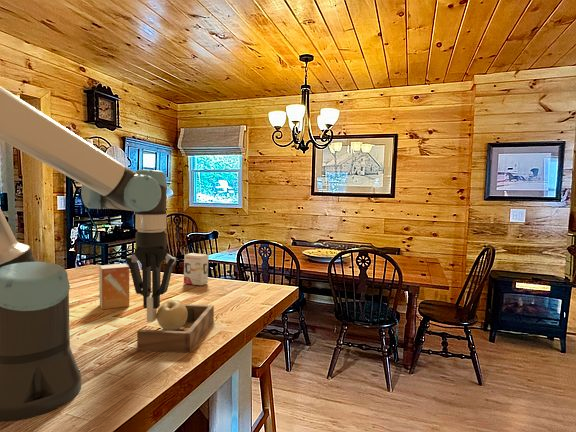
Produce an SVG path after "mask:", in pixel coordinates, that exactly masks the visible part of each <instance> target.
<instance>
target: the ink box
mask: <svg viewBox="0 0 576 432" xmlns="http://www.w3.org/2000/svg"><path fill="white" fill-rule="evenodd" d="M183 257H184V260H183V262H184V263H183V284H189V285H194V286H196V285H197V286H203V285H206V284H208V283H209V281H208V280H209V278H208V277H209V254H206V253H205V254H204V253H198V252H197V253H196V252H190V253H186V254H184V256H183Z"/></svg>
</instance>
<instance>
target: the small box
mask: <svg viewBox="0 0 576 432" xmlns="http://www.w3.org/2000/svg"><path fill="white" fill-rule="evenodd" d="M98 271H99V273H98V276H99V281H98V282H99V292H98V293H99V306H100V308H101V310H108V309H109V310H110V309H117V308H123V307H124V308H125V307H130V267H129V265H128V264H127V262H125V263H113V264H104V265H99V266H98Z"/></svg>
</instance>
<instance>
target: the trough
mask: <svg viewBox="0 0 576 432" xmlns="http://www.w3.org/2000/svg"><path fill="white" fill-rule="evenodd" d="M183 304H184V305H185V307H186V309H187V312H188V317H187V320H186V322H185V323H193V324H191V326H190V327H189V328H188V329H187V330H174V331H167V330H165V329H163V330H160V329H138V330H137V331H136V336H137V338H136V339H137V340H136V342H137V347H136V348H137V351H144V352H145V351H147V352H166V353H167V352H170V353H172V352H173V353H191V352H192V350H193V349H194V347H196V345H197V344H198V342H199V341H200V340H201V339H202V337H203V336H204V335H205V333H206V332H207V330H208V329H209V327H210V326H211V325H212V324H213V322H214V319H215V317H214V315H215V314H214V313H215V312H214V311H215V310H214V309H215V307H214V305H212V304H209V305H208V304H185V303H183Z"/></svg>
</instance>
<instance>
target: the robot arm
mask: <svg viewBox="0 0 576 432" xmlns="http://www.w3.org/2000/svg"><path fill="white" fill-rule="evenodd" d="M0 141H2V142H4V143H6V144H8V145H10V146H12V147H14V148H15V149H17V150H19V151H21V152H23V153H24V154H27V155H28V156H29V157H31V158H34V160H37V161H39V162H41V164H42V163H43V164H44V165H46V166H48V167H50V168H51V169H54V170H55V171H57V172H59V173H61V174H63V175H64V176H65V177H68V178H69V179H72V180H73V181H74V182H75V181H76V182H78V183H79V184H81V188H80V189H81V190H80V194H81V200H82V202H83V204H84V206H85V207H86V208H88V209H93V210H94V209H95V210H96V209H97V210H98V209H99V210H101V209H103V210H104V209H105V210H106V209H107V210H109V209H112V210H120V211H121V210H124V211H131V212H134V214H135V223H134V225H135V230H136V232H135V250H134V253H133V254H131V255H129V256H126V258H125V263H126V264H127V265H128V266H129V272H130V275H131V278H132V282H133V286H134V290H135V294H137V295H141V296H142V298H143V305H142V306H143V308H144V309H146V322H147V323H153V322H154V321H155V320H157V311H158V309H159V308H160V306H161V295H164V294H165V293H166V292H167V291H168V290H169V284H170V281H171V277H172V273H173V268H174V266H175V264H176V262H177V261H178V258H177V257H176V256H172V255H171V254H169V250H168V248H167V243H168V241H167V239H168V238H167V236H168V235H167V231H166V229H167V190H168V186H167V185H168V184H167V176H166V173H165V172H164V171H162V170H157V169H156V170H155V169H154V170H153V169H137V170H135V171H134V170H132V168H129V167H127V166H126V165H123V164H122V163H121V162H119V161H118V160H116V158H113V157H112V156H110V155H109V154H107V153H105V152H104V151H103V150H101V149H99V148H97V147H96V146H95V145H93V144H91V143H90V142H88V141H86V140H85V139H84V138H82V137H80V135H77V134H76V133H74V132H73V131H71V130H70V129H68V128H67V127H65V126H63V125H62V124H60V123H58V122H57V121H55V120H54V119H52V118H51V117H50V116H48V115H46V114H44V113H43V112H42V111H40V110H38V109H37V108H35V107H34V106H32V105H31V104H29V103H28V102H26V101H24V100H23V99H21V98H20V97H18V96H17V95H15V94H13V93H12V92H11V91H9V90H7V89H6V88H4V87H3V86H1V85H0ZM138 262H139V263H140V264H141V271H142V273H141V271H140V266H139V263H138ZM163 262H165V264H166V265H165V267H164V271H163V274H162V279H161V268H162V265H163ZM141 274H142V275H141ZM70 288H71V285H70V281H69V275H68V272H67V270H66V269H65V268H64V267H63V266H62V265H59V264H57V263H54V262H45V261H37V258H36V257H35V255H34V253H33V250H32V249H31V246H30V245H29V244H26V243H21V242H19V241H18V240H17V238H16V237H15V235H14V232H13V231H12V228H11V227H10V225H9V223H8V221H7V219H6V216H5V215H4V212H3V210H2V209H1V207H0V422H13V421H20V420H21V421H22V420H26V419H30V418H33V417H37V416H40V415H43V414H46V413H48V412H49V413H50V412H51V411H53V410H56V409H58V408H60V407H61V406H64V405H65V404H67V403H68V402H70V401H71V400H73V398H75V397H76V396H77V395H78V394H79V392H80V391H81V389H82V373H81V370H80V368H79V367H78V365H77V361H76V358H75V356H74V353H73V352H72V349H71V343H70V342H71V341H70V339H71V338H70V337H71V336H70V294H69V293H70Z"/></svg>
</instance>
